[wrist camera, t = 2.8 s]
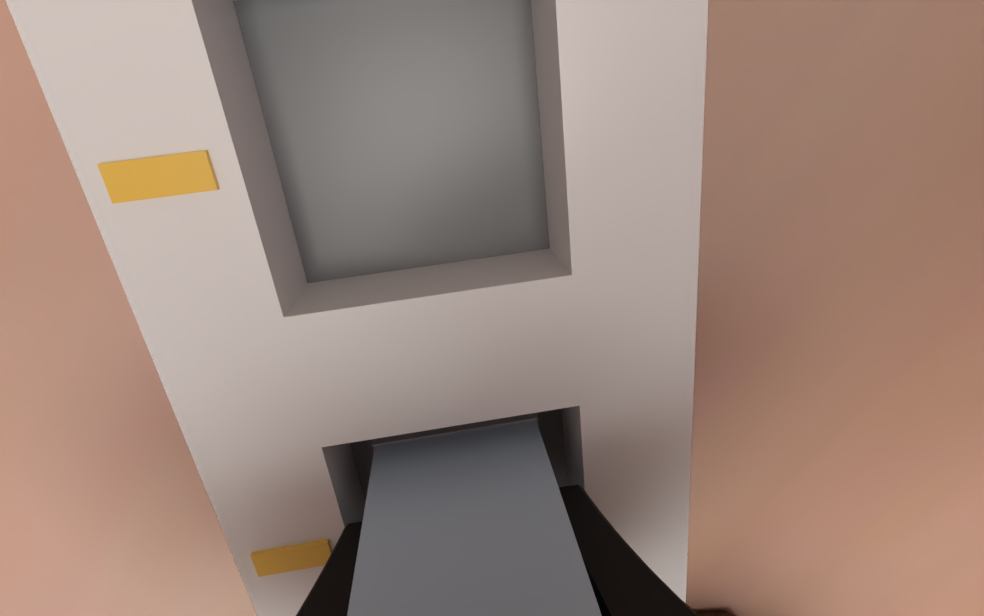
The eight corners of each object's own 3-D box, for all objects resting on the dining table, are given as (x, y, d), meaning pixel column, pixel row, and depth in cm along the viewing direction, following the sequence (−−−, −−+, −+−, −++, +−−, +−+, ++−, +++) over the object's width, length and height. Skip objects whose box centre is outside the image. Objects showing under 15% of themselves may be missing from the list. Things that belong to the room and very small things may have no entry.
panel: (645, -127, 9) (720, -208, 7) (647, 535, 15) (687, 615, 13) (77, -71, 9) (-57, -138, 6) (308, 596, 15) (285, 691, 12)
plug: (530, 394, 12) (623, 664, 6) (541, 512, 14) (627, 826, 8) (376, 418, 12) (323, 723, 6) (404, 536, 14) (383, 878, 8)
